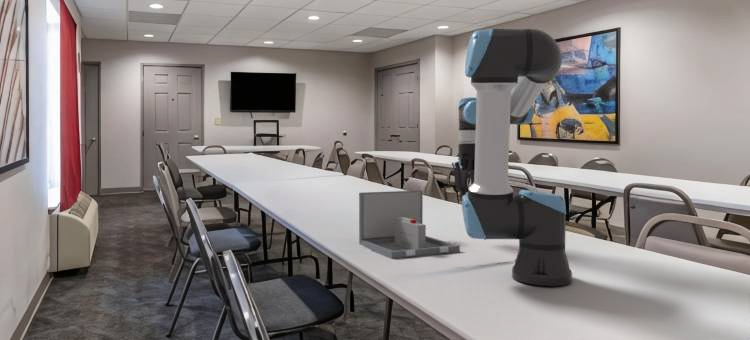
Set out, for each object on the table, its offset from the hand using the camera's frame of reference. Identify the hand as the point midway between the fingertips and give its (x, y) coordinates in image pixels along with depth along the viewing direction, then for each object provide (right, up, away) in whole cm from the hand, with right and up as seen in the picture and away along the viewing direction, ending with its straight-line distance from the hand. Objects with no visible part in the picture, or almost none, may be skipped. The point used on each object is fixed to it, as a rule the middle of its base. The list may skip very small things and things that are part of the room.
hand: (469, 210), depth 177 cm
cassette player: (-21, -12, -11) cm, 27 cm away
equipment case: (-22, -12, -10) cm, 27 cm away
